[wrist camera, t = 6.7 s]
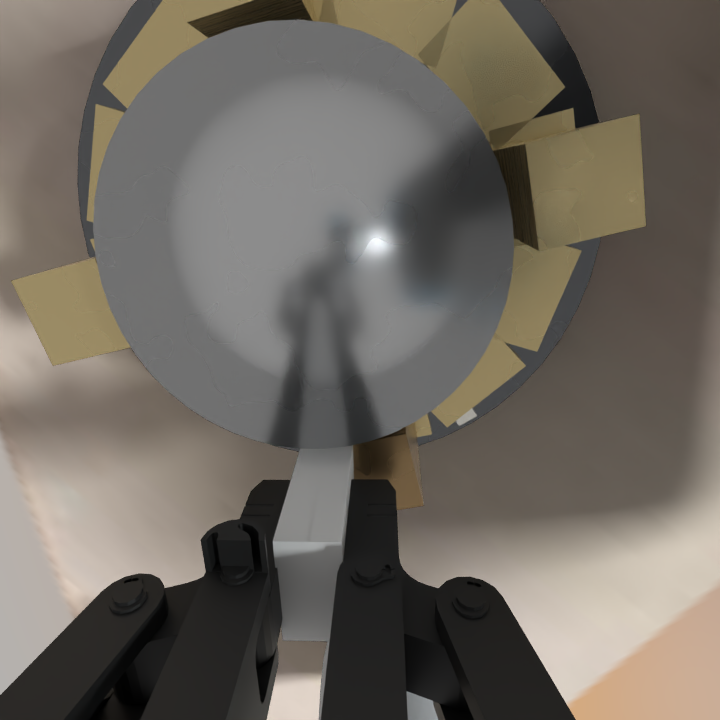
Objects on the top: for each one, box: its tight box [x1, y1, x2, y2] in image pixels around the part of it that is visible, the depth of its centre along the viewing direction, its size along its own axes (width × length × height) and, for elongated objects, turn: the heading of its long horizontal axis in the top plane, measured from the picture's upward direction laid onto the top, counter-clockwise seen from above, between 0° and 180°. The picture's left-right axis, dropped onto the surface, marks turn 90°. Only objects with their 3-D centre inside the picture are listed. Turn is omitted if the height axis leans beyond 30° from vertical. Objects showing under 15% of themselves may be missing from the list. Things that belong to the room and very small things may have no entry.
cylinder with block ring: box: [11, 0, 646, 510], centre depth 15 cm, size 15×15×5 cm
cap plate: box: [78, 0, 601, 452], centre depth 15 cm, size 18×18×9 cm
